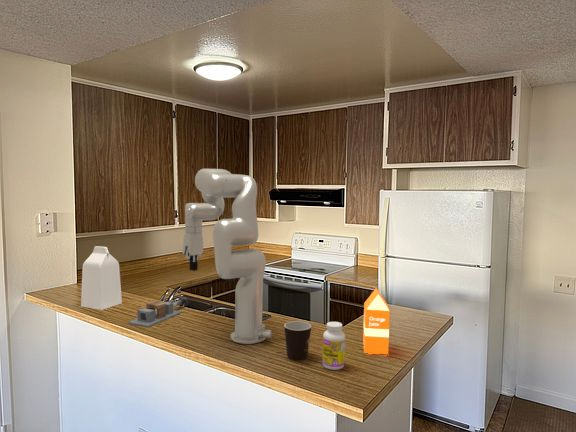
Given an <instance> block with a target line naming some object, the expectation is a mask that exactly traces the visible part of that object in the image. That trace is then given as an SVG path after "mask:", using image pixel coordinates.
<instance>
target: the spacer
mask: <svg viewBox="0 0 576 432" xmlns="http://www.w3.org/2000/svg"><path fill="white" fill-rule="evenodd" d="M145 305H146V306H145V309H151V310H155V311H157V319H161V318H163V317H165V316H166V303H162V302H161V301H154V300H153V301H149V302H147V303H146V304H145ZM146 317H147V316H146Z"/></svg>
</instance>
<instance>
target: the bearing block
mask: <svg viewBox="0 0 576 432" xmlns="http://www.w3.org/2000/svg"><path fill="white" fill-rule="evenodd" d="M160 302H162V303H166V316H165V317H163V318H161V319H157V310H156V309H155V310H151V309H146V307H145V308H144V307H143V308H140V309H137V317H136V318H134V319H133V320H130V321H127V324H128V325H133V326H139V327H144V328H150V327H153V326H155V325H156V324H157V325H158V324H159V323H162V322H164V321H166V320H168V319H172V318H174V317H175V316H178V315H180V314H182V312H183V311H181V310H175V309H174V308H173V302H169V301H160ZM146 316H147V317H146Z"/></svg>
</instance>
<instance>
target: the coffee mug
mask: <svg viewBox="0 0 576 432" xmlns="http://www.w3.org/2000/svg"><path fill="white" fill-rule="evenodd" d="M283 327H284V336H285V337H284V339H285V348H286V358H287V359H289V360H291V361H295V362H296V361H297V362H300V361H305V360H306V359H307V358H308V355H309V354H308V353H309V346H310V341H311V340H310V338H311V331H312V325H311V323H309V322H306V321H303V320H302V321H301V320H296V321H295V320H292V321H287V322H286V323H284V325H283Z"/></svg>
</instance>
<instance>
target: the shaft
mask: <svg viewBox="0 0 576 432" xmlns="http://www.w3.org/2000/svg"><path fill="white" fill-rule="evenodd" d="M172 303H173V309H174V308H175V307H179V306H181V305H183V306H188V305H189V303H190V299H189V297H186V296H181V297H178V300H177V301H173V302H172Z"/></svg>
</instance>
